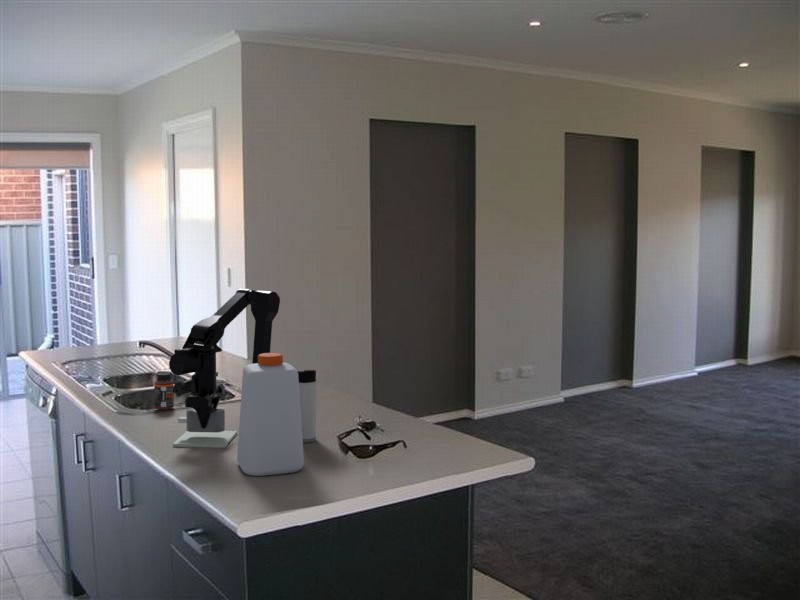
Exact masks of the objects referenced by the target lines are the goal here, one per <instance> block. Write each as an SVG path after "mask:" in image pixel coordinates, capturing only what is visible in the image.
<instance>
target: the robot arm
mask: <svg viewBox="0 0 800 600" xmlns="http://www.w3.org/2000/svg"><path fill="white" fill-rule="evenodd" d="M280 304H281V298H280V295H278V293H277V292H276V291H272V290H271V291H270V290H254V289H251V288H239V289H237V290H236V291H235V293H234V295H232V297H230V298H229V299H228V300H227V301H226V302H225V303H224V304H223V305H222V306H221V307H220V308H219V309H218V310H217V311H216V312H214V314H212V315H210V316H209V317H206V318H203V319H201V320H200V321H198V322H196V323H195V324H193V325H192V327H191V328H190V331H189V334H188V336H187V338H186V340H185V341H184V343H183V345H182V348H177V349H176V348H175V349H174V353H173V354H172V355H171V357H170V359H169V362H168V366H169V370H170V373H172V375H174V376H183V375H187V374H192V375H191V378H189V379H186V380H183V381H182V380H179V381H175V382H174V386H173V393H174V394H175V396H176V398H179V397H181V396H183V395H185V394H188V393H190V395H188V396H187V397H186V399H184V407H185V408H191V409H195V410H196V412H197V415H198V418H199V421H200V424H201V428H206V426H207V423H208V420H209V417H210V414H211V411H212V409H218V406H219V404H220V402H221V399H222V396H223V395H224V394H225V392H226V386H225V385H224V384H223V383H221V382H217V377H219V372H218V371H217V353H221V352H223V349H222V348H221V347H219V345H218V343H219V342H220V340H221V339H222V338H223V336H224V335H225V330H226V328H227V327H228V326H229V325H230V324H231V322H233V321H234V320H235V319H236V318H237V317H239V315H240V314H241V313H242V312H243V311H244V310H245V309H246V308H247V307H248V306H249V305H250V312H251V314H252V316H253V318H254V320H255V321H254V335H253V347H252V348H253V350H252V360H251V361H252V363H251V364H255V363H258V356H259V354H263V353H271V346H272V345H271V344H272V329H273V321H274V319H275V318H276V316H277V315H278V313H279V310H280ZM217 393H219V395H220V396H217Z"/></svg>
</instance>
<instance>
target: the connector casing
mask: <svg viewBox="0 0 800 600" xmlns="http://www.w3.org/2000/svg"><path fill="white" fill-rule="evenodd" d="M185 411H186V414H185V416H179V417H178V418H177V420H178V421H177V423H178V424H186V431H188V432H214V433H216V432H223V431H226V430H225V428H226V424H225V423H226V420H225V419H226V414H225V413H226V412H225V409H222V408H216V409H212V411H211V414H210V417H209V420H208V423H207V426H206V428H201V424H200V421H199V418H198V415H197V412H196V410H195V409H193V408H187V409H186V410H185Z"/></svg>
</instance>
